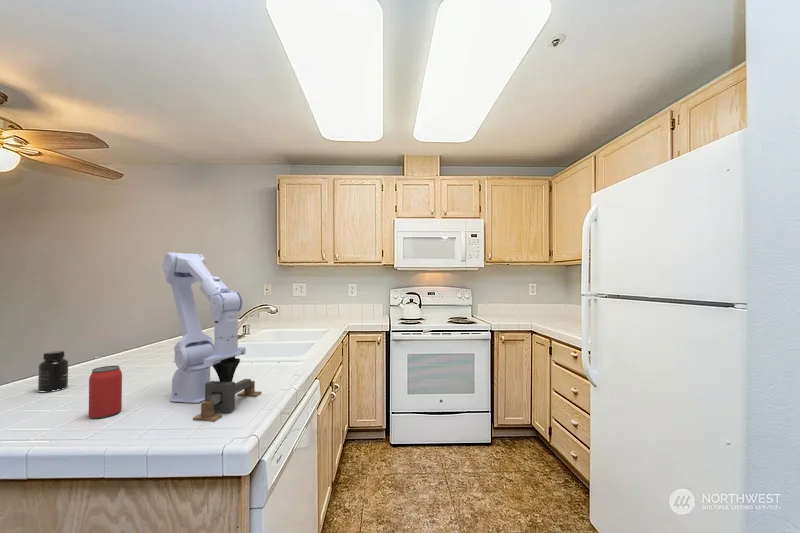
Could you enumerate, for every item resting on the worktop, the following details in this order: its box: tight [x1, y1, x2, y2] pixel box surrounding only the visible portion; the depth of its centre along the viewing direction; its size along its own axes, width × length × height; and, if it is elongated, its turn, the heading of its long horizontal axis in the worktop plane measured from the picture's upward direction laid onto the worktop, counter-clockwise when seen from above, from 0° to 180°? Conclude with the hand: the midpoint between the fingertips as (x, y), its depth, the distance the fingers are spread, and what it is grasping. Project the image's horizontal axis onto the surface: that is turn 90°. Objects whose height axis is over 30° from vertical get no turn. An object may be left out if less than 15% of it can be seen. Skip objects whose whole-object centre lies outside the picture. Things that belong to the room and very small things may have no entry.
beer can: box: [88, 365, 123, 419], centre depth 91 cm, size 7×7×12 cm
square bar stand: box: [192, 378, 262, 422], centre depth 95 cm, size 6×20×5 cm, turn 170°
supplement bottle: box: [37, 350, 69, 392], centre depth 112 cm, size 7×7×12 cm
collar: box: [204, 380, 236, 413], centre depth 91 cm, size 7×2×7 cm, turn 80°
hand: (226, 386), depth 94 cm, fingers closed
